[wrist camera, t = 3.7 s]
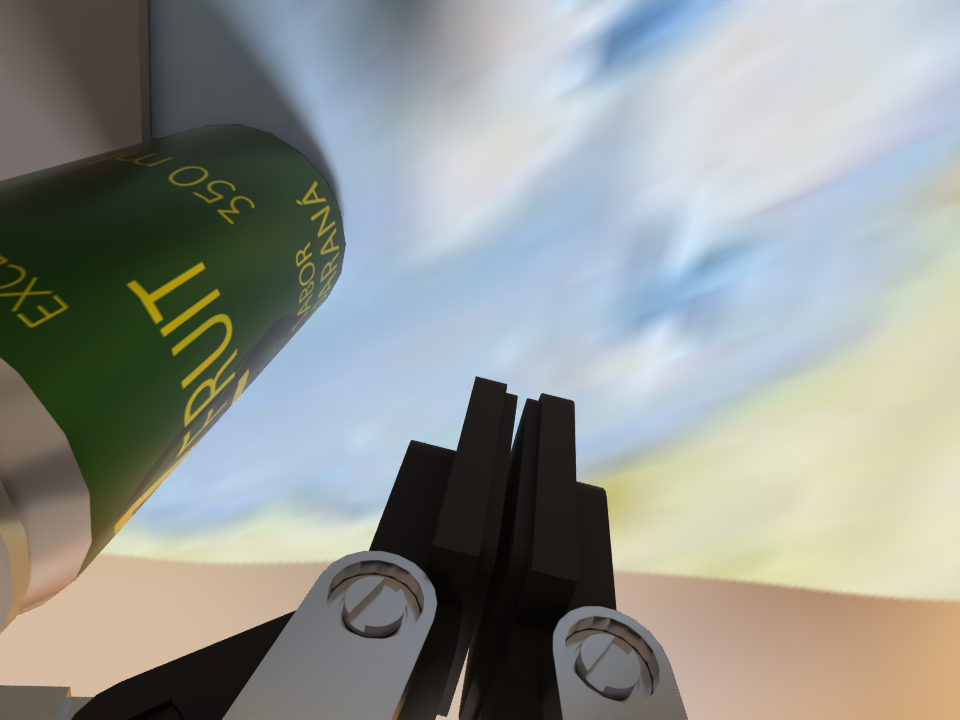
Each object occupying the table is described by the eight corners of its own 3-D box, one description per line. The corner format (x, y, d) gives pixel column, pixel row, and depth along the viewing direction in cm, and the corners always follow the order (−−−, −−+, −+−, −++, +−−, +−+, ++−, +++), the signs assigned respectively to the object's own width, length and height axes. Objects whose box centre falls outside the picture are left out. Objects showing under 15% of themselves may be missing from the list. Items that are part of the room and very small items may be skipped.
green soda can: (175, 301, 19) (-310, 638, 9) (150, 107, 17) (-581, 247, 6) (353, 325, 19) (76, 710, 8) (354, 132, 16) (-42, 325, 6)
